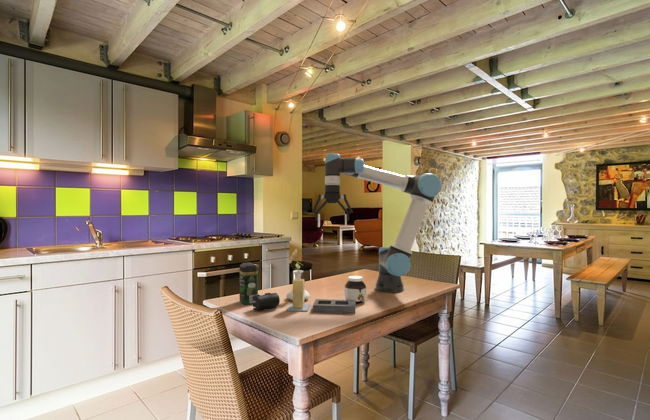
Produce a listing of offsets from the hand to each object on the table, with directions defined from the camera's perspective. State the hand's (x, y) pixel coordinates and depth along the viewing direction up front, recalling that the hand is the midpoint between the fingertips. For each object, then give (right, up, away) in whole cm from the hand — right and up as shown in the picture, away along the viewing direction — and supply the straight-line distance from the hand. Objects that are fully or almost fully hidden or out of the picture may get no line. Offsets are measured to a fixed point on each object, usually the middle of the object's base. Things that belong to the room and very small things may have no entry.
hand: (332, 227), depth 175 cm
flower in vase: (-17, -35, -7) cm, 39 cm away
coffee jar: (-39, -35, -12) cm, 54 cm away
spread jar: (+11, -35, -8) cm, 38 cm away
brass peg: (-15, -34, -21) cm, 43 cm away
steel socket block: (+1, -35, -23) cm, 42 cm away
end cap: (-30, -35, -23) cm, 51 cm away
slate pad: (-15, -35, -21) cm, 44 cm away
